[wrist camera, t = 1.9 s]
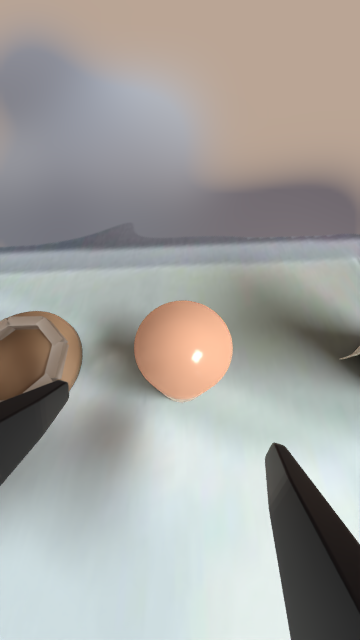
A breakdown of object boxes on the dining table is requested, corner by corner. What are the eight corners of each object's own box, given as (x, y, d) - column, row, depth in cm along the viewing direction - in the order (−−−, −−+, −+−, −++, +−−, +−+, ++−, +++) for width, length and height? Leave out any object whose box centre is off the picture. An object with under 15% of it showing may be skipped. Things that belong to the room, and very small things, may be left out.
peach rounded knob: (200, 408, 18) (223, 409, 8) (150, 394, 18) (118, 379, 9) (210, 358, 20) (238, 312, 10) (165, 346, 20) (152, 292, 11)
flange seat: (-2, 457, 16) (-25, 463, 15) (-52, 366, 19) (-76, 361, 18) (104, 362, 20) (96, 358, 18) (46, 297, 23) (35, 288, 21)
